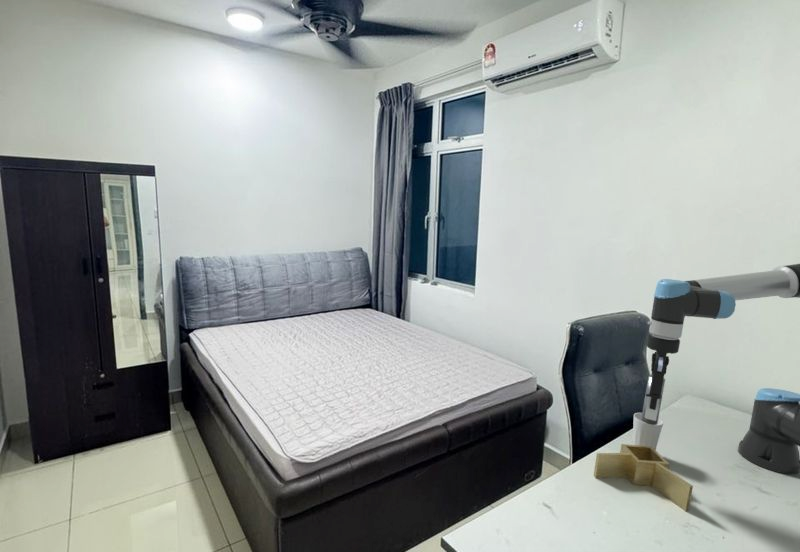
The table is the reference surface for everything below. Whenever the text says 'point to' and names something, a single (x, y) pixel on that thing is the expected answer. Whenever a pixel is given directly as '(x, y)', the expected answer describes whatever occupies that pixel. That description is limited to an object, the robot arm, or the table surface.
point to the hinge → (644, 472)
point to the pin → (647, 400)
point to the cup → (645, 432)
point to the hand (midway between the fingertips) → (650, 415)
